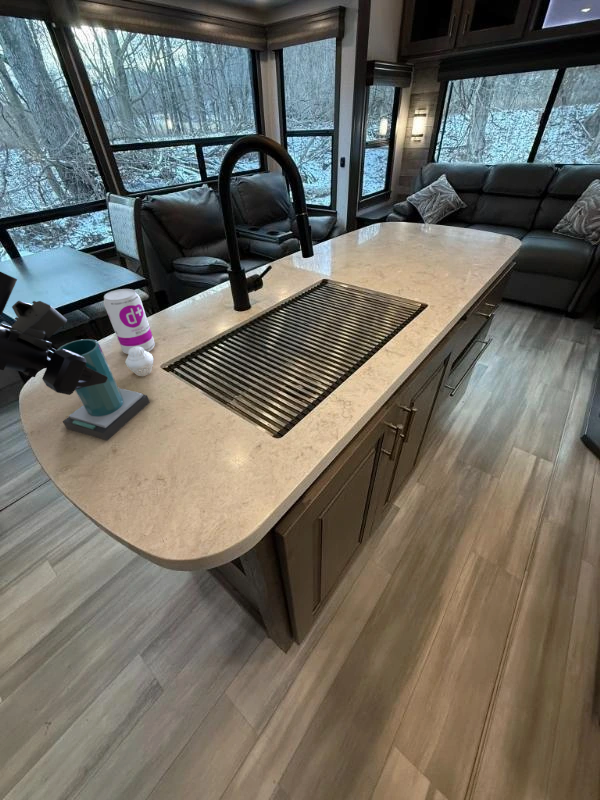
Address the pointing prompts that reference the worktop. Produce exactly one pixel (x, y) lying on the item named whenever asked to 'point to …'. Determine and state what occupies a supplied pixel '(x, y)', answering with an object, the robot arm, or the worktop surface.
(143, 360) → the white frosted cupcake
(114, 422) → the scale
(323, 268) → the worktop surface
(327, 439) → the worktop surface
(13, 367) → the robot arm
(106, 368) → the cup
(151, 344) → the supplement can
